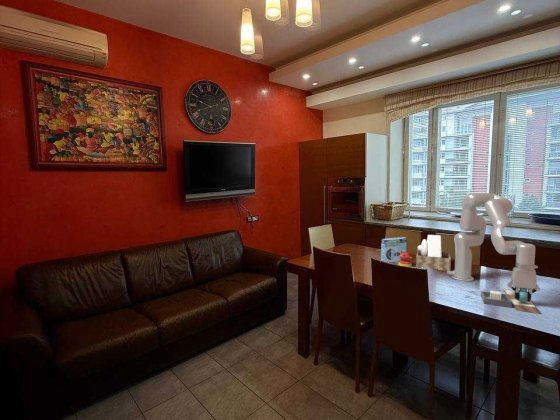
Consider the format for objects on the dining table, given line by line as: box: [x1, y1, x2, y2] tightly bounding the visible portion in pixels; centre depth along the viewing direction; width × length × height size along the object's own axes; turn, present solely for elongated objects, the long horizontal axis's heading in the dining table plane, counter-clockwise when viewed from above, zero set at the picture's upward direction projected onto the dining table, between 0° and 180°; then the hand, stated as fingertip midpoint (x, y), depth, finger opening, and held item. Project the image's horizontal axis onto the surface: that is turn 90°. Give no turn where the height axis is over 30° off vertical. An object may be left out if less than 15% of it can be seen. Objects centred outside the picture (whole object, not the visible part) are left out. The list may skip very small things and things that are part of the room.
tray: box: [480, 290, 513, 309], centre depth 164 cm, size 12×12×3 cm
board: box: [503, 289, 542, 315], centre depth 165 cm, size 10×32×1 cm, turn 153°
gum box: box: [380, 236, 407, 265], centre depth 230 cm, size 20×5×23 cm, turn 106°
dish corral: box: [415, 249, 452, 271], centre depth 235 cm, size 23×23×9 cm
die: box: [489, 290, 502, 300], centre depth 165 cm, size 5×5×5 cm
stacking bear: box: [398, 251, 413, 268], centre depth 205 cm, size 11×10×18 cm
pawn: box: [518, 288, 528, 302], centre depth 161 cm, size 4×4×8 cm
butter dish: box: [417, 234, 442, 258], centre depth 237 cm, size 18×18×16 cm
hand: (522, 299), depth 161 cm, fingers closed on pawn, 4 cm apart
